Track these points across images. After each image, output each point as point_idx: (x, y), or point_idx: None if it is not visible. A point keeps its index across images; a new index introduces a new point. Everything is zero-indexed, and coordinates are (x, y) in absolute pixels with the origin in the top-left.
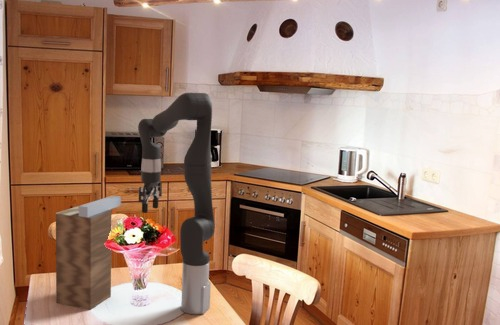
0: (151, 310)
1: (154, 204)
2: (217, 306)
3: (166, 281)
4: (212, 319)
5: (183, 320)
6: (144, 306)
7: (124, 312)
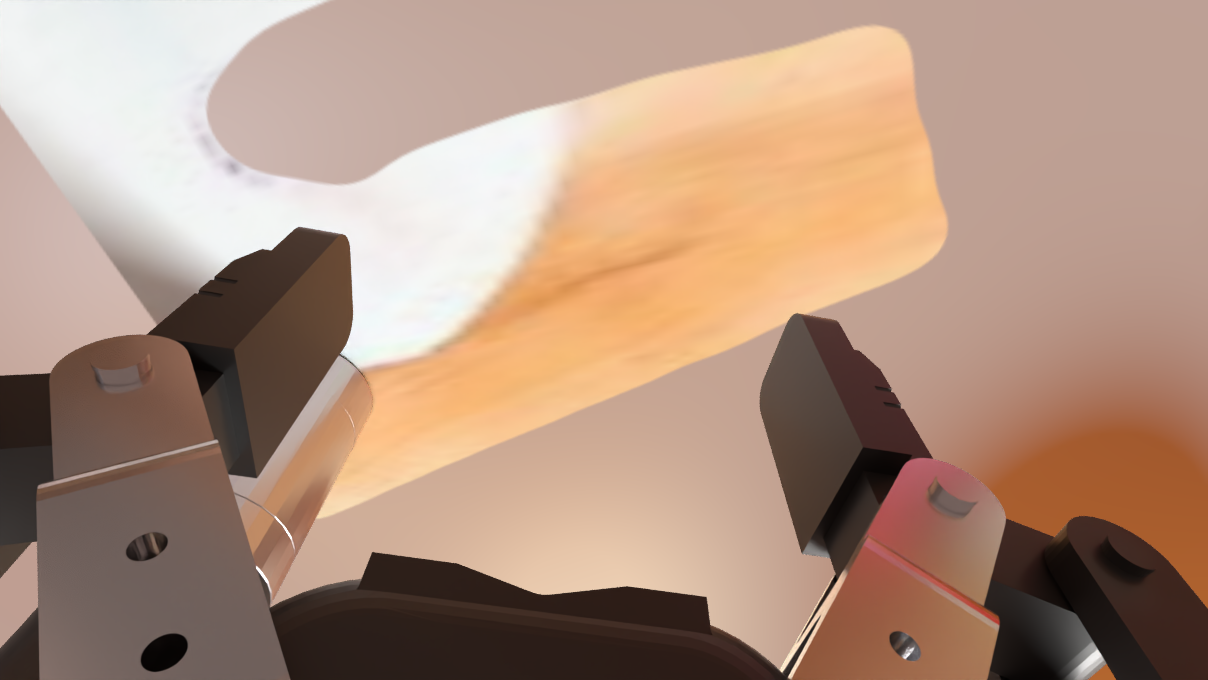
0: (195, 220)
1: (801, 392)
2: (381, 460)
3: (593, 186)
4: None
5: None
6: (215, 170)
7: (87, 86)
